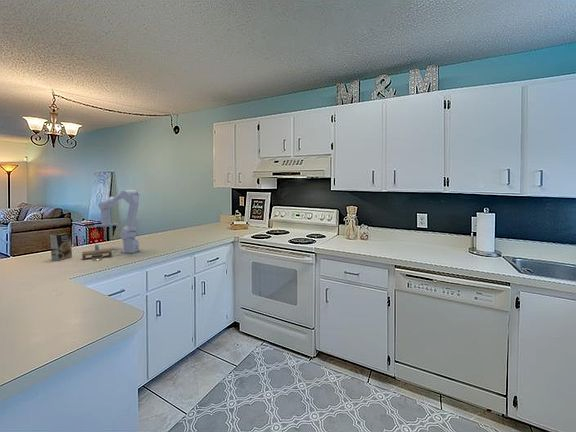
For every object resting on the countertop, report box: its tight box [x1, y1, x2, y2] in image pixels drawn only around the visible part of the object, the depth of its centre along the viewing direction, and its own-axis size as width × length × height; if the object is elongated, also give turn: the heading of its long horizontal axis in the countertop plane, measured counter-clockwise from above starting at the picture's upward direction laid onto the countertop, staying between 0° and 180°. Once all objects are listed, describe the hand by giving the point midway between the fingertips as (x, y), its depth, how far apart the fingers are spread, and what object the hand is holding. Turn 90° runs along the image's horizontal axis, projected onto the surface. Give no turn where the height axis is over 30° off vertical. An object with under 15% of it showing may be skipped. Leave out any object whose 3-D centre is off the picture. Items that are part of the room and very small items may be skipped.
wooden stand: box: [81, 248, 113, 261], centre depth 196 cm, size 7×16×4 cm, turn 123°
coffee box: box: [49, 232, 73, 261], centre depth 192 cm, size 9×6×16 cm
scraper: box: [91, 243, 104, 261], centre depth 198 cm, size 15×6×7 cm, turn 33°
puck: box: [92, 258, 103, 262], centre depth 190 cm, size 5×5×1 cm
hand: (107, 236), depth 218 cm, fingers open, 7 cm apart
